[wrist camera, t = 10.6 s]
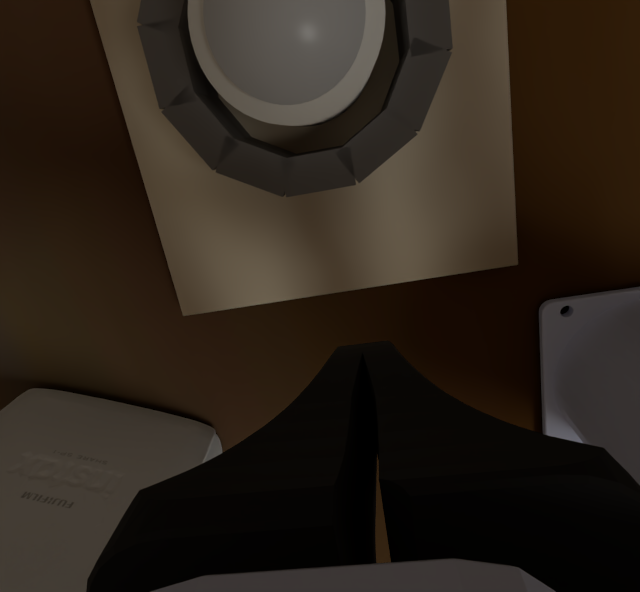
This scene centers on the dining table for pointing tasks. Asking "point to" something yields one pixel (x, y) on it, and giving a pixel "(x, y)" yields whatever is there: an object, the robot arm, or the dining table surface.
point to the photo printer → (80, 479)
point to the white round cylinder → (288, 54)
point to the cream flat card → (323, 160)
